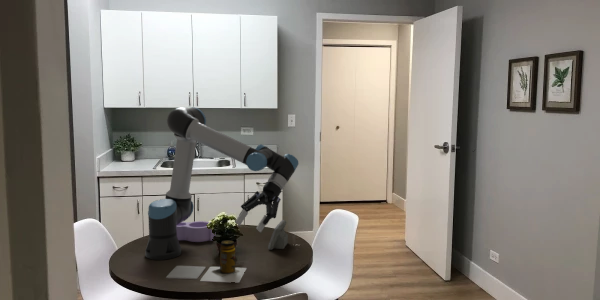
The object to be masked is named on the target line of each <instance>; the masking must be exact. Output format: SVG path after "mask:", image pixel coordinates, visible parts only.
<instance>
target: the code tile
mask: <svg viewBox="0 0 600 300" xmlns="http://www.w3.org/2000/svg"><path fill="white" fill-rule="evenodd" d="M217 269H220V266H209V268H208V269H207V271H206V272H205V273H204V274H203V276H202V277H201V278H200V280H199V282H211V283H213V282H214V283H231V282H235V283H237V284H240V282H241V279H242V278H243V276H244V275H245V273H244V272H246V271H247V269H248V268H247V267H235V269H236V270H238V271H239V272H236V273H233V274H229V275H226V276H220V275H217V274H215V273H214V272H212V271H213V270H217ZM235 283H234V284H235Z"/></svg>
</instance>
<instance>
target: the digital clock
mask: <svg viewBox="0 0 600 300" xmlns="http://www.w3.org/2000/svg"><path fill="white" fill-rule="evenodd" d="M286 225H287V221H286V220H285V219H282V220H281V221H280V222H279V223H278V224H277V225H276V226H275V227H274V230H273V232H272V234H271V237H270V240H269V243H268V246H267V249H268V250H270V251H271V250H273V249H280V250H281V249H282V250H284V249H285V247H286V246H287V245H288V244H289V234H288V233H287V232H286V230H285V227H286Z"/></svg>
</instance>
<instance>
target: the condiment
mask: <svg viewBox="0 0 600 300" xmlns="http://www.w3.org/2000/svg"><path fill="white" fill-rule="evenodd" d="M219 267H220V269H217V270H213V271H212V272H214V273H215V274H217V275H220V276H226V275H229V274H233V273H236V272H239V271H238V270H236V269H235V268H236V248H235V242H234V241H233V240H231V239H230V240H229V239H228V240H221V243H220V248H219Z"/></svg>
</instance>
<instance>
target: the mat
mask: <svg viewBox="0 0 600 300" xmlns="http://www.w3.org/2000/svg"><path fill="white" fill-rule="evenodd" d="M206 268H207V267H206V266H197V265H195V266H193V265H176V266H175V267H174V268H173V269H172V270H171V271H170V272H169V273H168V274H167V276H166V277H165V278H166V279H179V280H180V279H182V280H184V279H185V280H198V279H199V278H200V276H201V275H202V274H203V272H204V271H205V270H206Z"/></svg>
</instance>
